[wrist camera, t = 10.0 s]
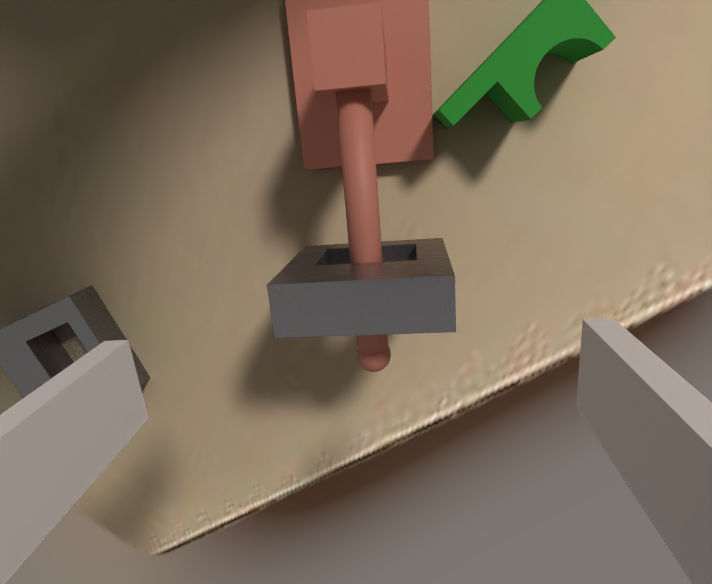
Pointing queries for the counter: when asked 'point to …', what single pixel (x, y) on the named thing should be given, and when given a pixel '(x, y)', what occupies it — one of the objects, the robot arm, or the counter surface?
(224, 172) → the counter surface
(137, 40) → the counter surface
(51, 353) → the link
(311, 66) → the hook
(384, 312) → the link
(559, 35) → the pipe clamp
